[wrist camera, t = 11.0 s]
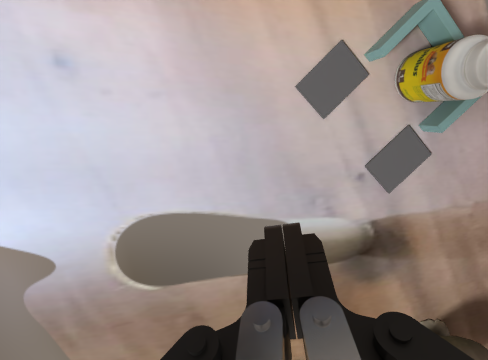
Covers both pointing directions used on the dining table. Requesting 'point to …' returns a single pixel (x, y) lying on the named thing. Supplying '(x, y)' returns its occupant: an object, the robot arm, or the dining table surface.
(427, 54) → the supplement bottle
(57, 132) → the dining table surface
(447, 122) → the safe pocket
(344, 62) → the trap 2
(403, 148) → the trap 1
